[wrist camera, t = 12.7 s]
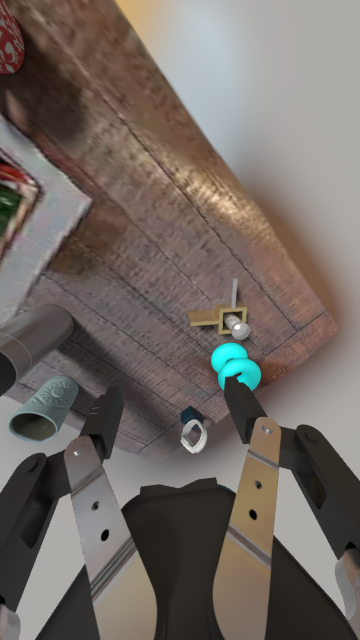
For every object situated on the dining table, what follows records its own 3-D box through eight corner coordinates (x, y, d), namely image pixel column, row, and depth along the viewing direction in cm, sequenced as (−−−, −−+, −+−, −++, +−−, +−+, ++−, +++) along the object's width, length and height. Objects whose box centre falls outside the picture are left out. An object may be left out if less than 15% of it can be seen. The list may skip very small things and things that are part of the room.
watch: (176, 416, 56) (178, 453, 45) (194, 402, 54) (200, 438, 44) (187, 424, 57) (192, 461, 47) (205, 411, 56) (214, 447, 45)
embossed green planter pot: (73, 370, 47) (44, 408, 36) (87, 397, 50) (65, 439, 39) (37, 377, 47) (-4, 417, 36) (54, 404, 51) (22, 447, 39)
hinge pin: (215, 317, 43) (231, 340, 32) (215, 304, 42) (232, 324, 31) (228, 316, 43) (249, 339, 32) (229, 303, 42) (251, 322, 31)
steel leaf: (211, 321, 44) (218, 334, 37) (211, 274, 39) (220, 279, 33) (233, 320, 44) (244, 332, 37) (236, 273, 39) (250, 277, 33)
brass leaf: (187, 323, 43) (191, 336, 37) (186, 301, 41) (190, 311, 35) (233, 320, 44) (244, 332, 37) (234, 298, 42) (247, 307, 35)
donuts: (228, 360, 36) (270, 367, 38) (216, 337, 46) (250, 344, 47) (214, 395, 40) (253, 400, 41) (205, 368, 49) (237, 372, 51)
